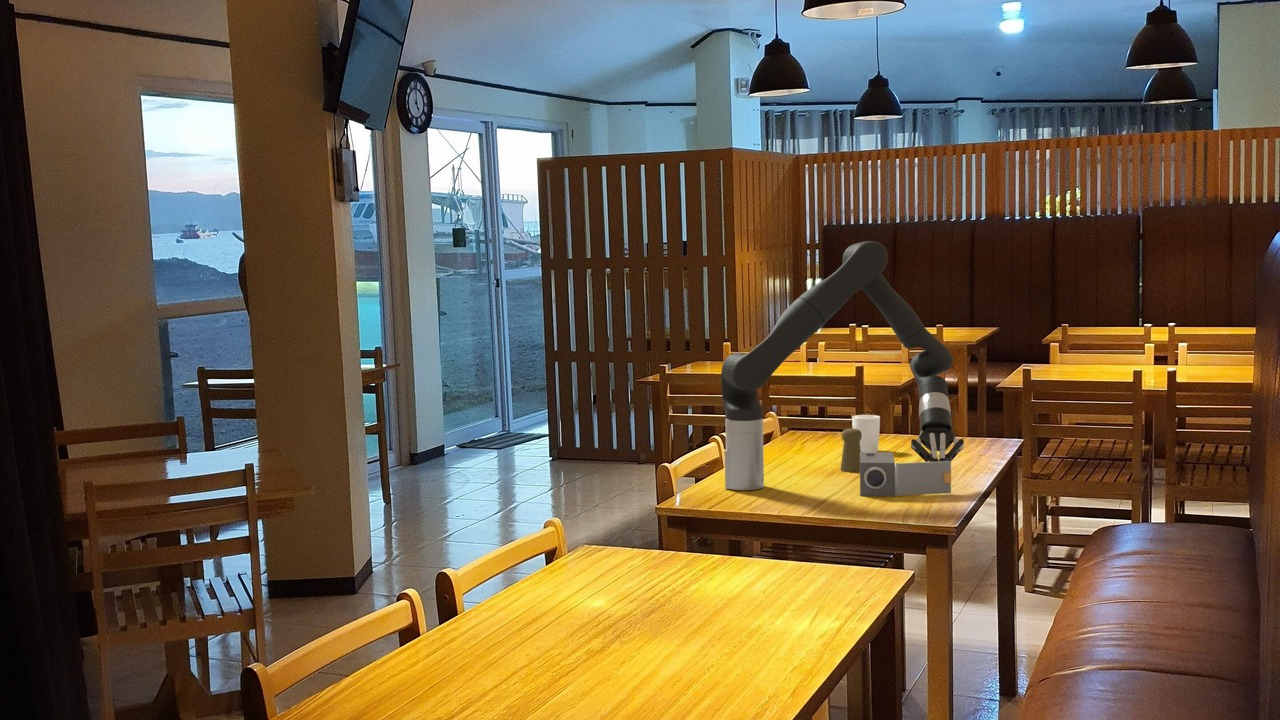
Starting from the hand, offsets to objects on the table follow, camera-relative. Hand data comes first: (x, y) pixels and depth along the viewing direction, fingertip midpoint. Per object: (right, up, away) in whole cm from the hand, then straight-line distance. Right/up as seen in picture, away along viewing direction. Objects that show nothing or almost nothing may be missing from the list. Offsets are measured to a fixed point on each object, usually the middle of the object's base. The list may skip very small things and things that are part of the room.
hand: (939, 474), depth 281 cm
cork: (-15, -2, +32) cm, 35 cm away
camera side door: (-4, -5, -1) cm, 6 cm away
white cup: (-6, +1, +60) cm, 60 cm away
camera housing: (-14, -4, +6) cm, 16 cm away
